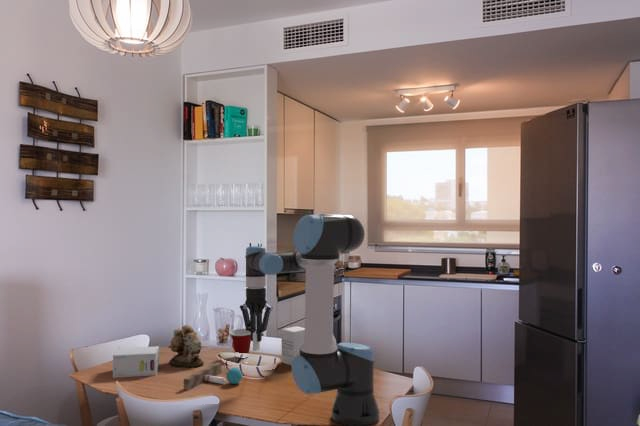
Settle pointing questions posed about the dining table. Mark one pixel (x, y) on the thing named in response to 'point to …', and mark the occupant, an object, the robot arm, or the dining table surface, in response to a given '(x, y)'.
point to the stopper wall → (201, 376)
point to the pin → (214, 379)
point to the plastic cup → (241, 340)
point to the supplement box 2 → (291, 343)
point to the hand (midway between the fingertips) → (256, 349)
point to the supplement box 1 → (135, 361)
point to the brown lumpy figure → (186, 348)
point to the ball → (234, 375)
